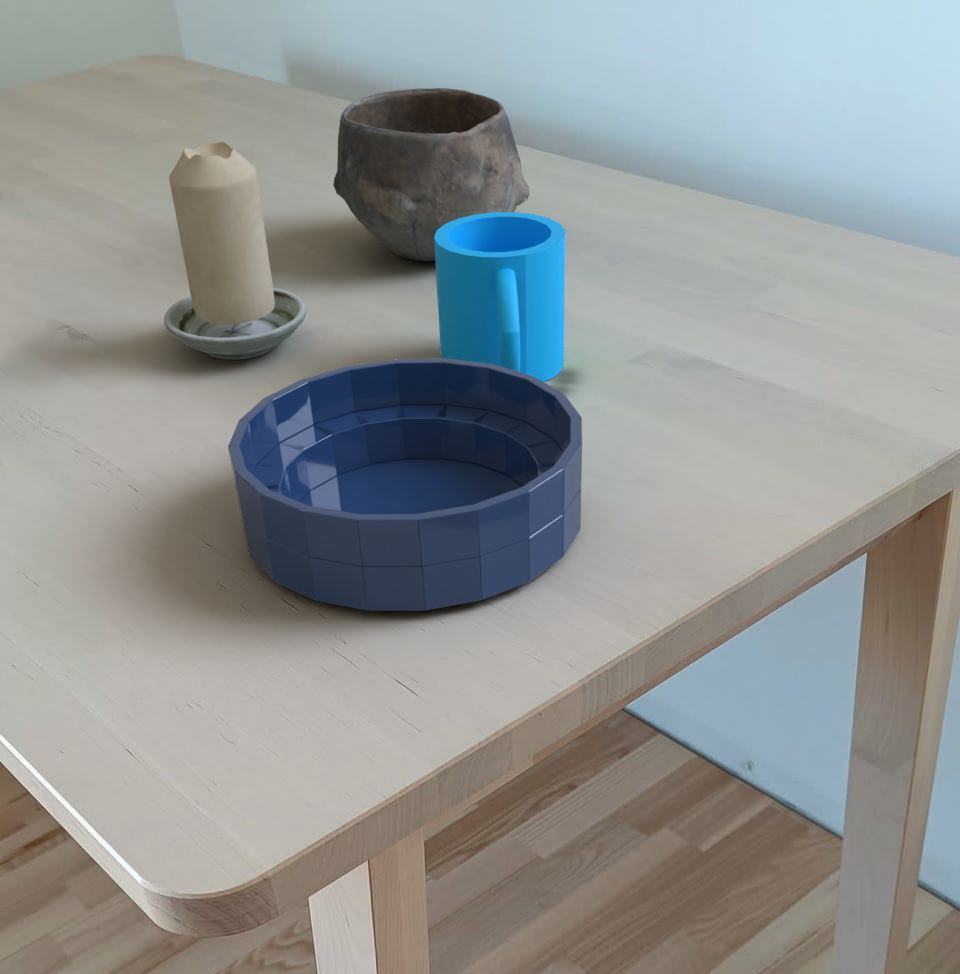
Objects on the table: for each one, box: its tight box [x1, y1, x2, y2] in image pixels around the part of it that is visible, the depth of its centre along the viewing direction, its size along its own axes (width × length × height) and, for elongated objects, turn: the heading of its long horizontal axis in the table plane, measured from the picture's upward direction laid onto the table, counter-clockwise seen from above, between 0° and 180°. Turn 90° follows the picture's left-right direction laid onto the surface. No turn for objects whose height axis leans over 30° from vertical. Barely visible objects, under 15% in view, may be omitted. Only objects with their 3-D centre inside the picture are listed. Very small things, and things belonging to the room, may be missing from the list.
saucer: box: [163, 287, 307, 361], centre depth 87 cm, size 10×10×2 cm
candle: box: [168, 141, 275, 324], centre depth 83 cm, size 6×6×10 cm
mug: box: [434, 211, 566, 383], centre depth 80 cm, size 12×8×8 cm
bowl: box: [332, 87, 530, 262], centre depth 97 cm, size 14×15×10 cm
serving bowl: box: [227, 357, 583, 612], centre depth 68 cm, size 18×18×6 cm
